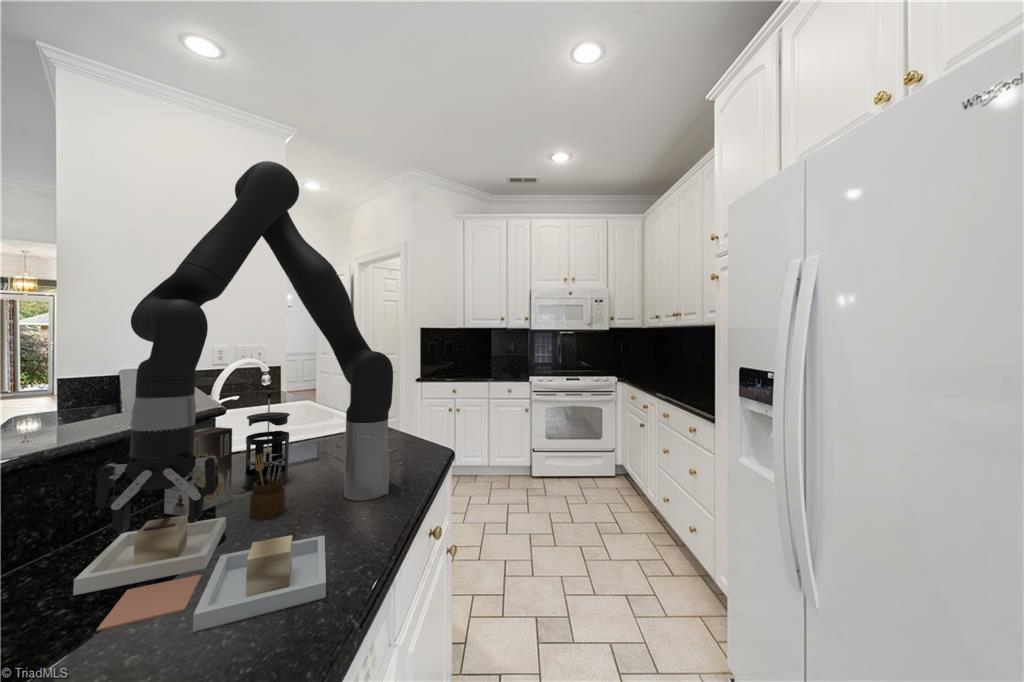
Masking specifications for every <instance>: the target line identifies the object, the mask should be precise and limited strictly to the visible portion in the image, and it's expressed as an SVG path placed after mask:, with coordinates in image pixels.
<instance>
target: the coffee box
mask: <svg viewBox="0 0 1024 682" xmlns="http://www.w3.org/2000/svg"><path fill="white" fill-rule="evenodd" d="M194 455H195V457H196V458H205V457H210V456H211V455H217V457H218V488H217V489H216V490H215V492H214V493H213V494H210V495H206V496H204V506H203V511H206V510H207V509H211V508H213V507H216V506H219V505H225V504H226V503H229V502H231V501H232V472H233V471H232V467H233V466H232V465H233V464H232V463H233V462H232V461H233V458H232V457H233V428H231V427H219V426H208V427H207V426H206V427H203V428H197V429H195V437H194ZM190 473H191V474H192V475H193V476H194V477H195V478H196V480H197V482H198V483H199V484H200V485H201V486H202V487H205V486H206V485H205V471H201V469H200V467H199V466H195V467H194V468H193V469H192V470H191V471H190ZM191 500H192V498H191V497H190V496H189V495H188V494H186V493H185V492H183V491H181V490H180V489H179V488H178V487H177V486H174V487H173V488H170V489H164V506H163V507H164V510H163V511H164V514H165V515H166V514H167V515H168V514H169V515H175V516H185V515H188V517H189V513H190V501H191Z"/></svg>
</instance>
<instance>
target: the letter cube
mask: <svg viewBox="0 0 1024 682" xmlns="http://www.w3.org/2000/svg"><path fill="white" fill-rule="evenodd" d="M188 522H189V516H188V515H185V516H181V515H177V516H173V517H172V516H171V517H165V518H160V519H152V520H148V521H147V522H146V523H144V525H143V526H141V528H140V529H139V530H137V531H138V532H137V533H136V534H135V538H134V565H139V564H144V563H150V562H155V561H161V560H166V559H171V558H177V557H179V556H180V555H181V553H182V552H183V550H184V549H185V547H186V545H187V523H188Z"/></svg>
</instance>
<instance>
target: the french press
mask: <svg viewBox="0 0 1024 682" xmlns="http://www.w3.org/2000/svg"><path fill="white" fill-rule="evenodd" d="M258 393H259V394H266V399H267V401H268V403H267V407H268V408H267V412H260V413H254V414H250V415H248V416H246V419H247V420H248V427H251V426H252V425H253V424H254V425H255V424H257V423H259V424H260V423H264V422H267V431H263V432H262V431H260V432H257V433H252V434H249V435H247V436H246V437H245V445H246V450H245V454H246V455H245V472H244V484H243V487H242V488H243V489H244V490H246V491H249V492H253V484H254V482H256V481H258V480H261V479H260V473H259V471H256V466H255V458H254V456H251V453H252V451H251V450H252V449H251V446H255V448H254V449H255V450H254V451H255V453H254V455H256V459H257V465H258V458H257V455H258V454H259V458H260V454H262V458H263V464H264V469H263V470H262V477H263V479H264V478H270V477H280V478H282V479H283V482H284V485H283V486H285V485H287V484H288V483H289V482H290V478H289V449H290V448H289V445H290V432H288V431H285V430H273V431H272V430H270V424H271V425H274V426H285V425H287V424H288V419H289V418H288V417H290V416H291V413H289V412H284V411H283V412H278V411H275V412H274V411H273V412H272V411H271V399H272V397H273V394H277V393H280V390H275V389H272V390H271V389H269V390H268V389H267V390H262V391H259V392H258ZM270 411H271V412H270ZM270 437H271V438H270ZM263 438H264V439H263ZM266 438H267V439H266ZM283 442H285V443H284V453H283ZM270 445H271V453H270V452H269V451H270V450H269V449H270V448H269V446H270ZM264 446H267V447H266V453H265V452H264V450H265V449H264ZM283 462H284V464H283ZM272 463H273V464H272ZM274 463H276V464H274ZM278 463H280V464H278ZM260 464H261V458H260ZM251 466H254V467H252V468H251ZM278 466H279V467H278ZM268 467H269V468H268ZM270 467H271V470H270ZM274 467H276V469H274ZM281 467H282V469H281ZM269 470H270V471H269ZM279 470H280V472H279ZM267 471H268V473H267ZM278 472H279V474H278ZM273 473H275V475H274V474H273ZM280 474H281V475H280ZM268 475H269V477H268ZM286 483H287V484H286Z"/></svg>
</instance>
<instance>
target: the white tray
mask: <svg viewBox="0 0 1024 682" xmlns="http://www.w3.org/2000/svg"><path fill="white" fill-rule="evenodd" d="M226 527H227V516H225V517H216V518H211V519H204V520H203V519H202V520H199V521H198V520H197V521H196V522H195V523H189V522H187V545H186V547H185V549H184V550H183V552H182V553H181V555H180V556H179V557H177V558H171V559H166V560H161V561H155V562H150V563H144V564H139V565H134V538H135V534H136V533H137V532H138V531H139V530H133V531H128V532H127V531H126V532H125V533H121V534H119V536H118V537H116V538H115V539H114V540H113V541H112V543H111V544H110V545H108V546H106V548H105V549H104V550H103V551H102V552H101V553H100V554H99V555H98V556H97V557H96V558H95V559H94V560H93V561H92V562H91V563H89V564H88V565H87V567H86V568H84V569H83V571H82V572H80V573H79V574H78V576H76V577H75V578H74V579H73V592H72V593H73V594H72V595H73V596H77V595H82V594H87V593H91V592H92V593H93V592H97V591H102V590H107V589H112V588H116V587H122V586H127V585H131V584H137V583H141V582H146V581H147V582H148V581H151V580H157V579H162V578H166V577H171V576H172V577H173V576H176V575H180V574H186V573H191V572H197V571H201V570H206V569H207V566H208V565H209V562H210V560H211V558H212V556H213V555H214V552H215V551H216V549H217V547H218V545H219V542H221V539H222V536H223V535H224V533H225V531H226V529H227V528H226Z"/></svg>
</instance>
